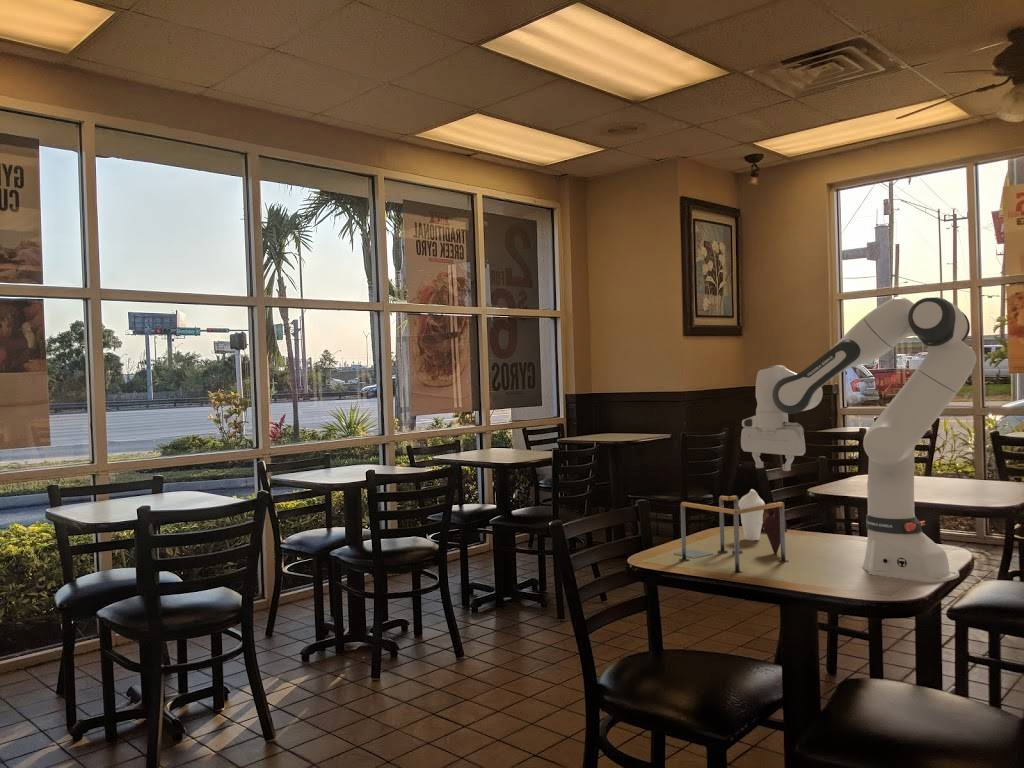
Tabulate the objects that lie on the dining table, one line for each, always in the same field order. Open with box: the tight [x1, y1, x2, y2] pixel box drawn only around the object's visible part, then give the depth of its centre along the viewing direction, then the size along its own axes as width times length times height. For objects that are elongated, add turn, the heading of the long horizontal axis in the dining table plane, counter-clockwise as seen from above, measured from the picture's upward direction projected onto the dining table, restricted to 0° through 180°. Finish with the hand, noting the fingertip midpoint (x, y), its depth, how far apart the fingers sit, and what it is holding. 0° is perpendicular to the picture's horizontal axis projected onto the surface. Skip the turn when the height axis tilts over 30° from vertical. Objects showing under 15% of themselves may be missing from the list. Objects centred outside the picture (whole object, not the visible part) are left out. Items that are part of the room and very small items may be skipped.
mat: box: [673, 549, 714, 559], centre depth 234 cm, size 8×8×1 cm
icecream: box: [761, 502, 788, 555], centre depth 231 cm, size 7×7×15 cm
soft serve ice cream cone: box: [738, 488, 766, 542], centre depth 253 cm, size 8×8×16 cm
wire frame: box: [678, 495, 789, 574], centre depth 223 cm, size 21×21×17 cm
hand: (772, 469), depth 231 cm, fingers open, 8 cm apart
